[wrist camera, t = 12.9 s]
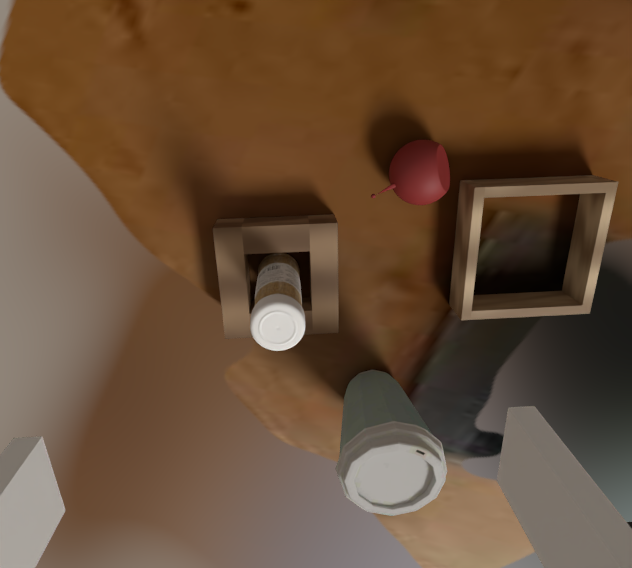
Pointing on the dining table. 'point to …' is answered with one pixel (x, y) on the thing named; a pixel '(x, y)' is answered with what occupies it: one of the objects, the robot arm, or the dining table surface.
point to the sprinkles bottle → (278, 304)
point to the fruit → (419, 172)
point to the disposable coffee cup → (387, 448)
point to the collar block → (277, 237)
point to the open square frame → (581, 257)
